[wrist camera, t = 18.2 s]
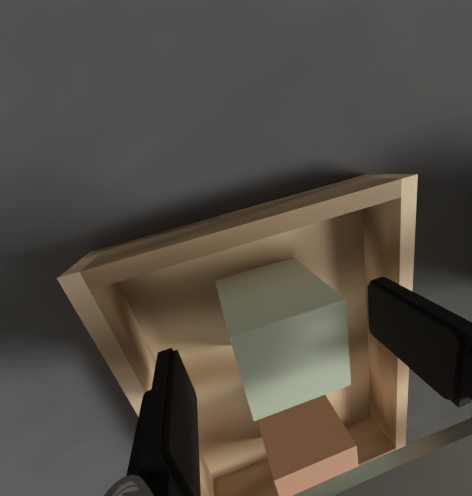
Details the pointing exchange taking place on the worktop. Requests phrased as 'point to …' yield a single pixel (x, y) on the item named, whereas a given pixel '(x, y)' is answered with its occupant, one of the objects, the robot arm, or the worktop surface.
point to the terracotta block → (307, 445)
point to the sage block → (285, 335)
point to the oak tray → (213, 323)
